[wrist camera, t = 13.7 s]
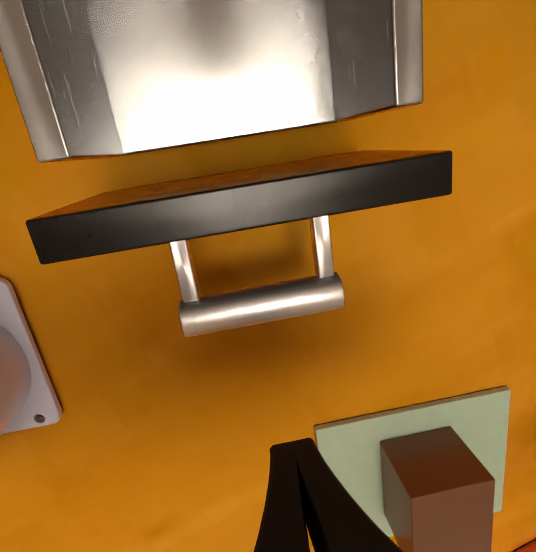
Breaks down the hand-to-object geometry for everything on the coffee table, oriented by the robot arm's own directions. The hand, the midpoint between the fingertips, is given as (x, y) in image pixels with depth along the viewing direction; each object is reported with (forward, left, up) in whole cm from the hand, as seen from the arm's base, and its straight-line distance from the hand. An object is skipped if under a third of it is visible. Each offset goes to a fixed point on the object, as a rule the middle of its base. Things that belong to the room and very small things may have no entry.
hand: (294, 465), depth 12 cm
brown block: (+8, -11, -8) cm, 15 cm away
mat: (+8, -11, -8) cm, 16 cm away
